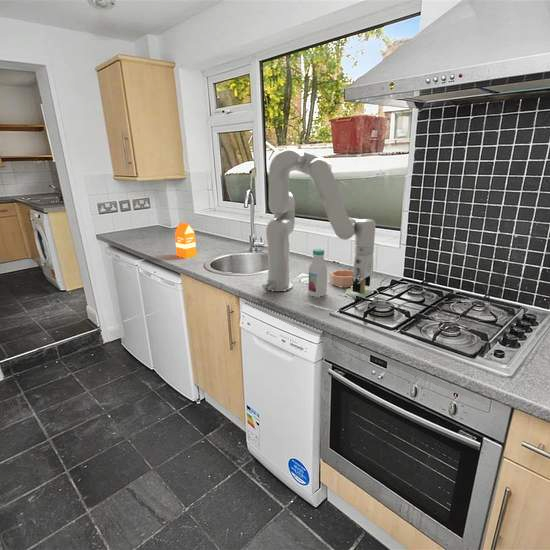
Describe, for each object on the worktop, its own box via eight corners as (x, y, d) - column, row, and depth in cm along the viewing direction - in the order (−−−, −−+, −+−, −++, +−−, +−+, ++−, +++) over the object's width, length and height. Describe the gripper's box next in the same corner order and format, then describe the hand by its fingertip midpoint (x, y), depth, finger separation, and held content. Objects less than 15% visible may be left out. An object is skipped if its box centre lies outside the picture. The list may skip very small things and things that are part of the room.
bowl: (350, 289, 159) (350, 278, 157) (326, 285, 166) (326, 274, 164) (361, 282, 168) (361, 272, 166) (338, 278, 175) (338, 268, 174)
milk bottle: (324, 291, 158) (326, 247, 152) (327, 298, 151) (329, 252, 145) (307, 292, 158) (308, 247, 152) (309, 298, 151) (310, 252, 144)
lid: (369, 302, 145) (370, 287, 143) (340, 295, 153) (340, 281, 151) (381, 292, 155) (382, 278, 153) (353, 286, 163) (354, 273, 161)
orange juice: (186, 258, 211) (183, 224, 205) (176, 256, 216) (173, 223, 210) (196, 256, 217) (194, 223, 211) (187, 253, 222) (184, 221, 216)
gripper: (363, 255, 139) (360, 296, 144) (380, 246, 152) (377, 284, 158) (346, 252, 143) (343, 292, 149) (364, 244, 156) (361, 281, 162)
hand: (361, 288), depth 153 cm, fingers open, 9 cm apart
